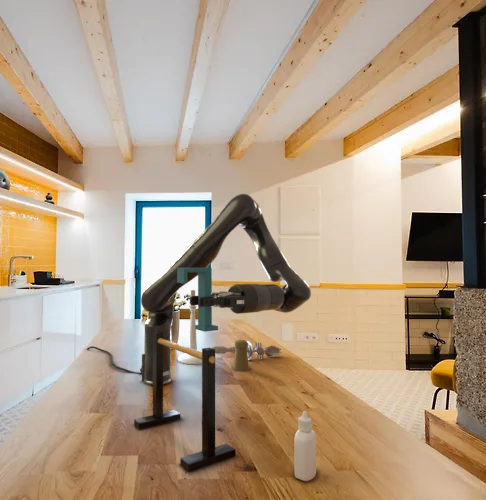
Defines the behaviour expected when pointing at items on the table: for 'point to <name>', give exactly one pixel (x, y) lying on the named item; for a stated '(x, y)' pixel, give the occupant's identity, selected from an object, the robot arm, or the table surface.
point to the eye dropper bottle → (305, 449)
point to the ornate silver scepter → (251, 350)
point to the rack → (209, 450)
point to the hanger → (201, 295)
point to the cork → (241, 356)
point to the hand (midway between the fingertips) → (195, 301)
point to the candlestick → (191, 338)
